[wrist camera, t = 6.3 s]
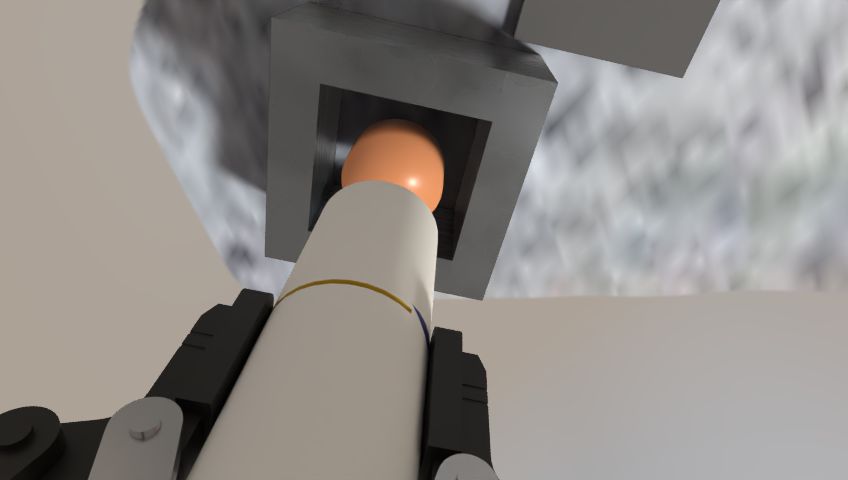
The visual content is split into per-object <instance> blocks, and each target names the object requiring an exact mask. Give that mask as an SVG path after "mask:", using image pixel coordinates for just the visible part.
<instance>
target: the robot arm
mask: <svg viewBox="0 0 848 480" xmlns="http://www.w3.org/2000/svg"><path fill="white" fill-rule="evenodd" d="M273 302H274V297H273V294H271V293H266V292H261V291H256V290H251V289H246V288H244V289H243V290H242V291H241V292H240V294H239V295H238V297H237V299H236V300H235V302H234V303H233V305H232V306H228V305H222V304H217V305H216V306H214V307H213V308H211V309H210V310H208V311H207V312H206V313H204V314H203V315H201V317H200V318H199V320H198V321H197V322H196V324H195V325H194V327H193V328H192V330H191V332H190V334H188V335H187V337H186V338H185V340H184V341H183V343H182V346H181V347H179V349H178V350H177V351H176V353H175V354H174V356H173V357H172V359H171V360H170V362H169V363H168V365H167V366H166V367H165V369H164V370H163V372H162V373H161V375H160V376H159V378H158V379H157V381H156V382H155V383H154V385H153V386H152V388H151V389H150V391H149V392H148V394H147V395H146V396H145V397H144V398H142V399H138V400H136V401H133V402H131V403H129V404H127V405H125V406H124V407H122V408H121V409H120V410H118V412H116V413H115V414H114V415H113V416H112V417H109V418H105V419H99V420H90V421H80V422H69V423H60V421H59V418H58V416H57V415H56V414H55V413H54V412H53V411H51V410H49V409H47V408H44V407H37V406H36V407H35V406H30V407H21V408H17V409H13V410H10V411H7V412H5V413H2V414H0V480H186V479H187V477H188V475H189V473H190V471H191V469H192V467H193V465H194V463H195V461H196V459H197V458H198V456H199V454H200V452H201V450H202V448H203V446H204V444H205V442H206V440H207V438H208V436H209V434H210V432H211V430H212V428H213V426H214V424H215V422H216V420H217V418H218V416H219V414H220V412H221V410H222V408H223V406H224V404H225V402H226V400H227V398H228V396H229V394H230V392H231V391H232V389H233V387H234V385H235V383H236V381H237V379H238V377H239V375H240V373H241V371H242V369H243V367H244V365H245V363H246V361H247V359H248V357H249V355H250V353H251V351H252V349H253V347H254V345H255V343H256V341H257V339H258V337H259V335H260V333H261V331H262V329H263V327H264V325H265V324H266V322H267V320H268V318H269V316H270V314H271V312H272V310H273ZM487 404H488V396H487V378H486V370H485V368H484V366H483V364H482V362H481V360H480V358H479V357H478V355H475V354H470V353H465V352H462V332H460V331H455V330H450V329H445V328H440V327H435V328H434V330H433V334H432V337H431V341H430V345H429V350H428V370H427V383H426V396H425V409H424V421H423V434H422V447H421V459H420V472H419V480H499V479H498V477H497V475H496V474H495V471H494V469H493V466H492V462H491V452H490V433H489V415H488V406H487Z"/></svg>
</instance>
